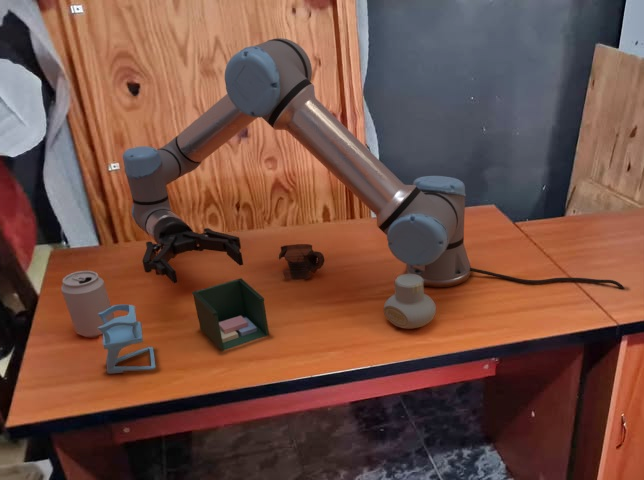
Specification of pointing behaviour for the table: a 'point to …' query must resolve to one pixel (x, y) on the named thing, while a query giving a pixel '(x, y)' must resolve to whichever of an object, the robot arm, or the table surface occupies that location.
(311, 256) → the pottery mug
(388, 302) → the air freshener
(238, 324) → the block
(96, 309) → the can
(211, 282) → the table surface
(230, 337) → the block
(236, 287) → the open box
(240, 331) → the blue packet
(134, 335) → the chair
